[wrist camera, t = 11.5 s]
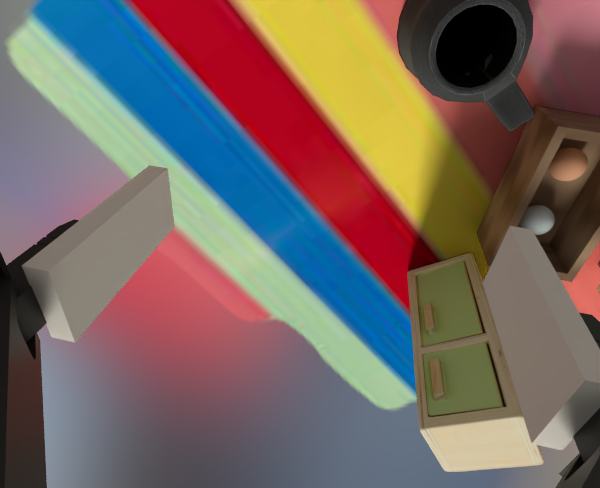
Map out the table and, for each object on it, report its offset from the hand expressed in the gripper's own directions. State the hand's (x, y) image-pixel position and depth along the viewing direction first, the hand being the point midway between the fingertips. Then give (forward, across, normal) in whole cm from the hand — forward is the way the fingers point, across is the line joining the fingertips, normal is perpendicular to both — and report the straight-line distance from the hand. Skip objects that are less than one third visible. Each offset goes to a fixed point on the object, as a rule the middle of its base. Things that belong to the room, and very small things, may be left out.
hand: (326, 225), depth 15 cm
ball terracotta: (+26, +20, -4) cm, 33 cm away
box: (+26, +20, -7) cm, 34 cm away
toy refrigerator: (+27, +14, -21) cm, 37 cm away
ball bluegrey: (+26, +19, -10) cm, 34 cm away
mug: (+27, +8, +4) cm, 28 cm away
